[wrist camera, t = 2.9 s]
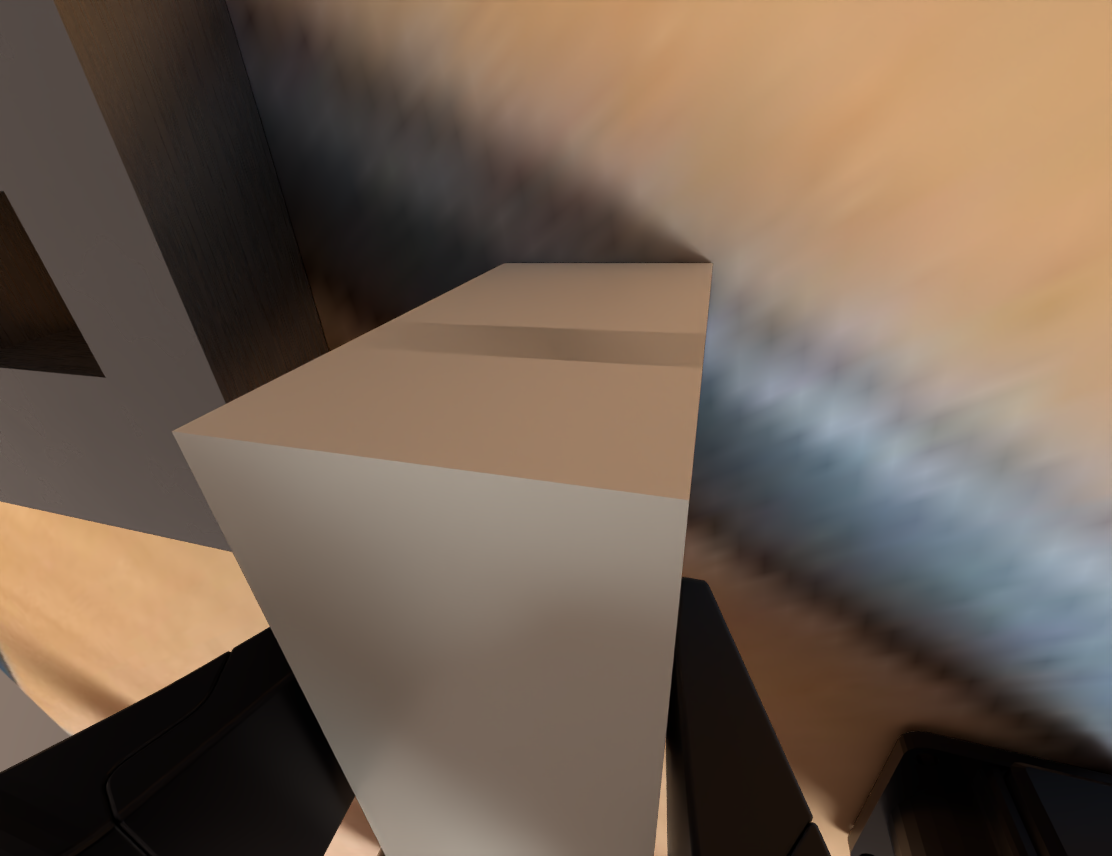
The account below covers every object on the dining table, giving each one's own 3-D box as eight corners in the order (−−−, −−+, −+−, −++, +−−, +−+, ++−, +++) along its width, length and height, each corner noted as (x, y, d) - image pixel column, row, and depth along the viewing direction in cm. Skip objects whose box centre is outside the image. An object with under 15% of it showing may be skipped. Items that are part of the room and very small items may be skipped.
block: (677, 612, 13) (640, 991, 7) (536, 584, 14) (403, 891, 8) (712, 263, 9) (688, 500, 3) (504, 263, 10) (171, 431, 4)
